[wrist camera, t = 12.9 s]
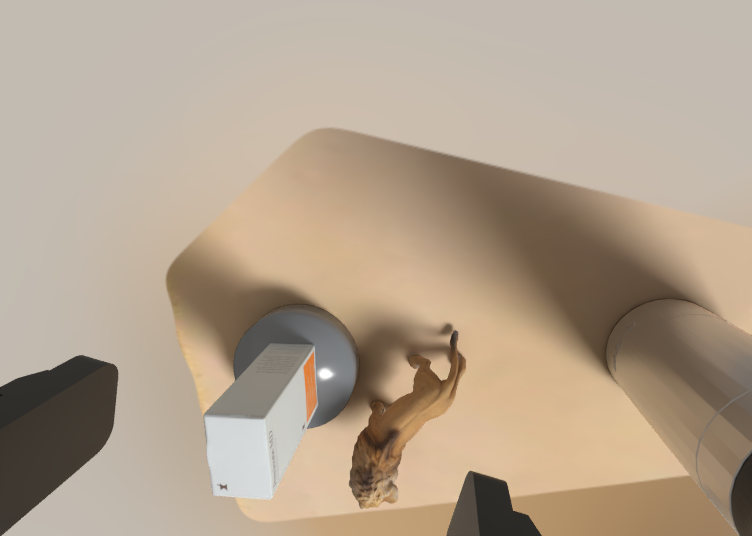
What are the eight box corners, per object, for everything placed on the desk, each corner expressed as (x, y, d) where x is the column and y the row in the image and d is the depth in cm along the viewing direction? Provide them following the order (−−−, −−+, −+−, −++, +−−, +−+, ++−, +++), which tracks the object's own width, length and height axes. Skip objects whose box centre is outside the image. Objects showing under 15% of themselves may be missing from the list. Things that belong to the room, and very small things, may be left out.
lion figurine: (396, 460, 44) (386, 533, 35) (349, 432, 44) (328, 499, 35) (480, 342, 40) (491, 392, 32) (428, 312, 40) (426, 353, 32)
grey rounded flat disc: (371, 322, 41) (366, 334, 38) (345, 424, 44) (339, 443, 41) (257, 290, 42) (243, 300, 39) (239, 393, 45) (225, 409, 42)
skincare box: (320, 405, 40) (272, 503, 29) (274, 403, 41) (209, 498, 29) (316, 341, 39) (264, 418, 27) (269, 340, 40) (199, 414, 28)
